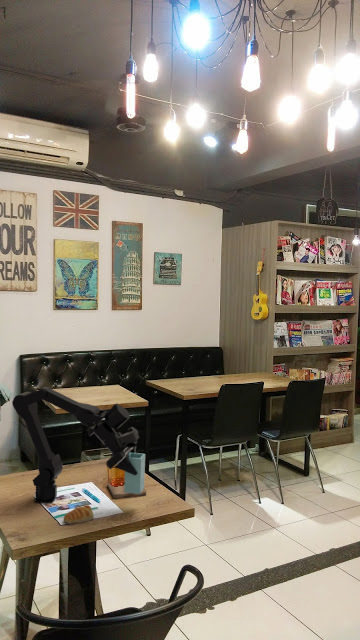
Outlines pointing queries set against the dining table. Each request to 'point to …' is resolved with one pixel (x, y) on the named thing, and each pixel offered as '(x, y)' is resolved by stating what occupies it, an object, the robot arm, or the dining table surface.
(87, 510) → the pastry
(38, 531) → the dining table surface
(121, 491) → the tray
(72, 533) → the dining table surface
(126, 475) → the light blue square vase
